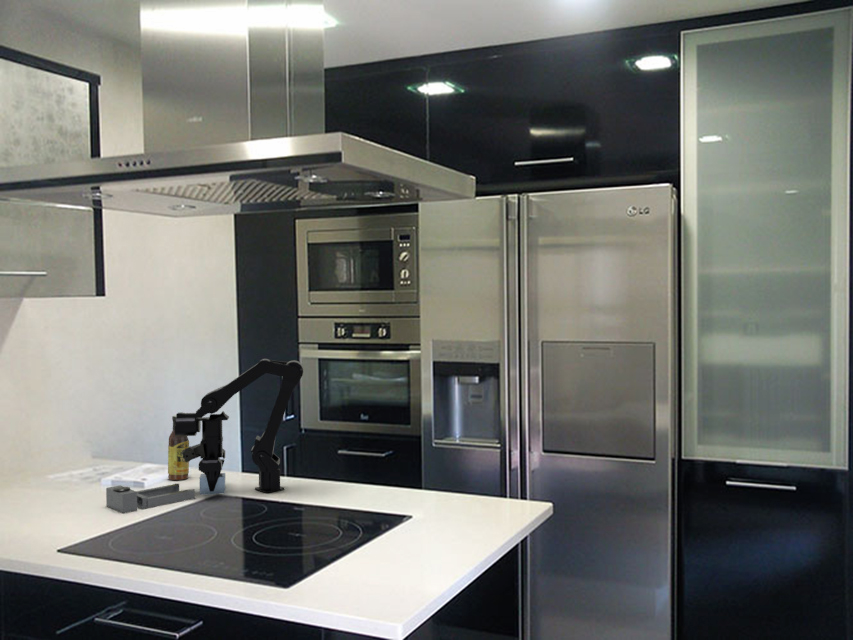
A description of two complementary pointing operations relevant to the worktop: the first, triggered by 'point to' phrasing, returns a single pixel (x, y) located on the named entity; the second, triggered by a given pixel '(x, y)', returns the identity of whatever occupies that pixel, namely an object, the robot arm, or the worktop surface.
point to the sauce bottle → (177, 455)
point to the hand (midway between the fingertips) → (212, 488)
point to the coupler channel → (145, 497)
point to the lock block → (218, 488)
